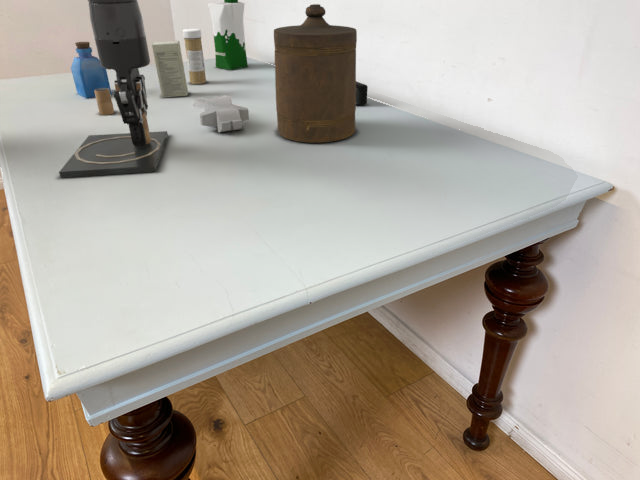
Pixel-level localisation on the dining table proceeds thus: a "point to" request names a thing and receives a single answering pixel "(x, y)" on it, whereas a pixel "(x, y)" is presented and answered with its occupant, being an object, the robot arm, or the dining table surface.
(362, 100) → the mobile phone
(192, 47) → the sprinkles bottle
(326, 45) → the wooden container
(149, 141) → the peg right
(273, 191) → the dining table surface
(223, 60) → the milk carton
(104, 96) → the peg left
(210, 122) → the grey angular block
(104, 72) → the perfume bottle
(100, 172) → the slate board
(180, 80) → the cosmetic box
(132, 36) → the robot arm
